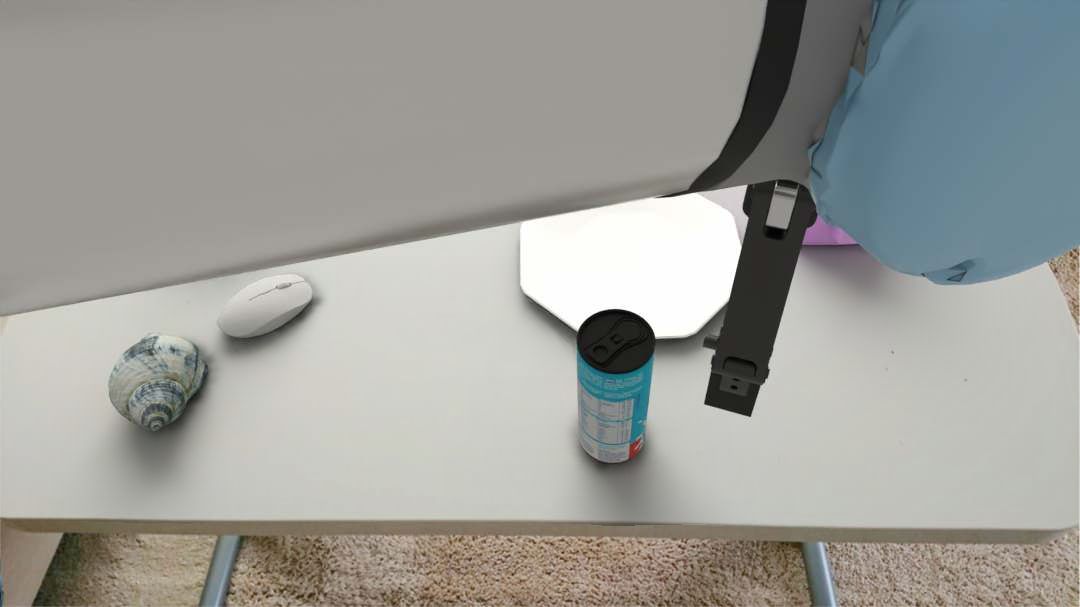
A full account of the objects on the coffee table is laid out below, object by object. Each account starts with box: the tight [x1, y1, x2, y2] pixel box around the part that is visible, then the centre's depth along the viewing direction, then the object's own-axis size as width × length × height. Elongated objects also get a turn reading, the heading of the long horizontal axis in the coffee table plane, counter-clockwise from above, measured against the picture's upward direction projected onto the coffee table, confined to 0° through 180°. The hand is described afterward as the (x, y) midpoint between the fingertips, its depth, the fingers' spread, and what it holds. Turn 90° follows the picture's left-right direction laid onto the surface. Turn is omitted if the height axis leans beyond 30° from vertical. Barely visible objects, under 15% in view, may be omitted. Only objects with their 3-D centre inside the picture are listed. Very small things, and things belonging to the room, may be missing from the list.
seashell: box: [107, 332, 209, 432], centre depth 71 cm, size 6×8×12 cm
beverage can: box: [575, 309, 657, 465], centre depth 62 cm, size 6×6×15 cm
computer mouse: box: [216, 273, 314, 339], centre depth 78 cm, size 6×10×3 cm, turn 132°
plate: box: [519, 192, 742, 341], centre depth 81 cm, size 24×24×2 cm
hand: (750, 317), depth 47 cm, fingers open, 13 cm apart
